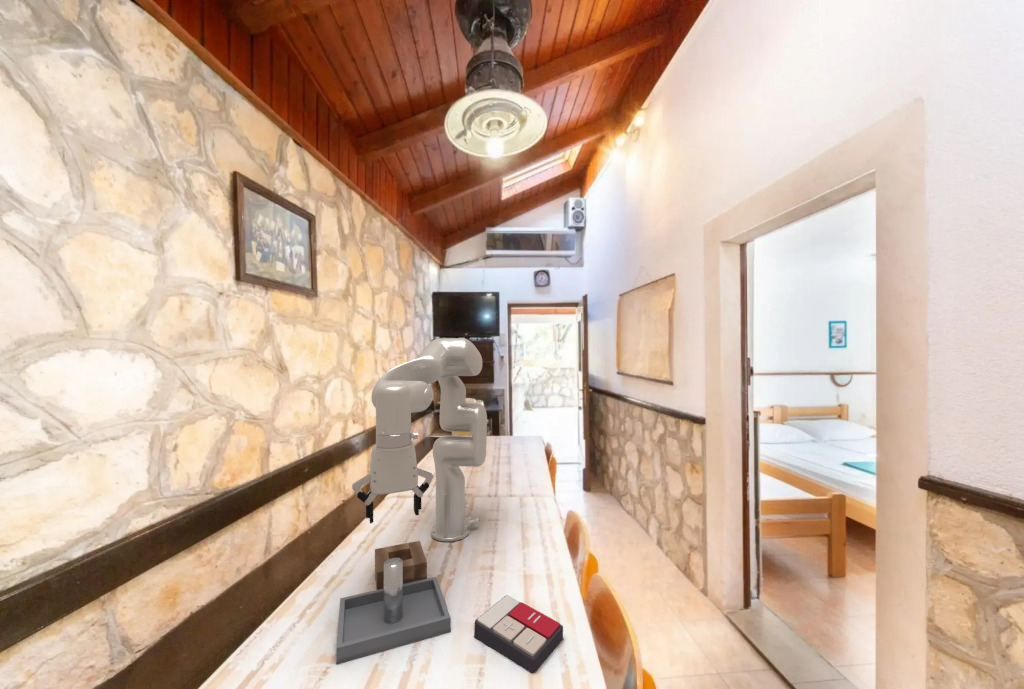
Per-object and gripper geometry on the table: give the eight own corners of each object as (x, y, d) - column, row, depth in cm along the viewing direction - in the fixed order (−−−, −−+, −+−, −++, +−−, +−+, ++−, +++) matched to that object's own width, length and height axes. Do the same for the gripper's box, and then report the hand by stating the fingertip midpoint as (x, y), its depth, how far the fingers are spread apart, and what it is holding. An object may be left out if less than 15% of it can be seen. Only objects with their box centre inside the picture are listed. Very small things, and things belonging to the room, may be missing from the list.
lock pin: (401, 609, 86) (401, 556, 86) (403, 620, 83) (403, 565, 83) (383, 613, 85) (383, 559, 85) (384, 625, 81) (384, 569, 81)
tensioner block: (419, 562, 107) (419, 540, 108) (426, 586, 96) (426, 562, 96) (374, 571, 103) (374, 549, 103) (376, 597, 92) (376, 572, 92)
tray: (436, 588, 95) (436, 576, 95) (450, 631, 80) (450, 617, 80) (340, 611, 87) (340, 598, 87) (336, 664, 72) (336, 648, 72)
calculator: (533, 656, 70) (473, 617, 79) (533, 679, 70) (473, 638, 79) (564, 622, 78) (506, 590, 88) (563, 643, 78) (506, 609, 88)
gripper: (429, 432, 91) (430, 504, 91) (352, 440, 85) (352, 516, 85) (435, 439, 84) (436, 516, 84) (351, 448, 78) (351, 531, 78)
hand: (394, 516), depth 85 cm, fingers open, 9 cm apart
